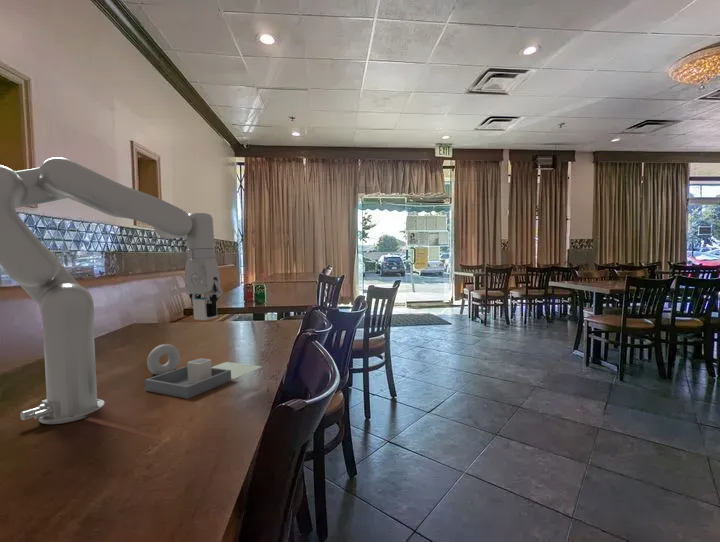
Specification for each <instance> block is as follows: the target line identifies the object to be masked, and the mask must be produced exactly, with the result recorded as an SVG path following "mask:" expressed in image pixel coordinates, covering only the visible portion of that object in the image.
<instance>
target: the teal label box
mask: <svg viewBox="0 0 720 542" xmlns="http://www.w3.org/2000/svg"><path fill="white" fill-rule="evenodd" d="M217 303H218V302H216V308H217V309H218V306H217V305H218V304H217ZM206 304H208V302H207V298H206V296H202V298H197V299H193V303H192V307H193V308H192V309H193V320H197V321H207V320H212V319H215V318H218V314H217V315H216V316H213V317H207V307H206Z"/></svg>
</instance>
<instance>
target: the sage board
mask: <svg viewBox="0 0 720 542" xmlns="http://www.w3.org/2000/svg"><path fill="white" fill-rule="evenodd" d="M212 368H218V369H225V370H231V380H235V379H236V378H237V379H238V378H240V377H242V376H244V375H248V373H251V372H254V371H256V370H260V369H261V368H262V366H261V365H253V364H245V363H237V362H231V361H230V362H229V361H225V362H222V363H219V364H216V365H214V366H212Z"/></svg>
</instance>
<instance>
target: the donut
mask: <svg viewBox="0 0 720 542" xmlns="http://www.w3.org/2000/svg"><path fill="white" fill-rule="evenodd" d="M165 355H166V356H168V361H167V362H166V363H164V364H161V363H160V358H161V357H163V356H165ZM180 360H181V355H180V351H179V350H178V348H177V347H176V346H175V345H173V344H169V343H164V344H159V345H158V346H156V347H154V348H153V349H152V350H151V351H150V352H149V354H148V356H147V359H146V364H147V369H148V370H149V372H150V373H152V374H153V375H155V376H157V375H160V374H163V373H167V372H170V371H173V370H176V369H177V367H178V365H179V363H180Z"/></svg>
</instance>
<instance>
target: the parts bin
mask: <svg viewBox="0 0 720 542" xmlns="http://www.w3.org/2000/svg"><path fill="white" fill-rule="evenodd" d="M231 381H232V379H231V370H225V369H218V368H212V377H209V378H207V379H204V380H202V381H199V382H196V383H194V384H193V383H188V370H187V365H186V366H185V365H184V366H183V367H179V368H175V370H173V371H170V372H167V373H163V374H158V375H155V376H152V377H149V378H146V379H144V390H145V392H151V393H156V394H160V395H165V396H171V397H176V398H180V399H181V398H182V399H186V400H188V399H191V398H193V397H196V396H198V395H200V394H202V393H205V392H207V391H210V390H212V389H215V388H217V387H219V386H223V384H226V383H229V382H231Z"/></svg>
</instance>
